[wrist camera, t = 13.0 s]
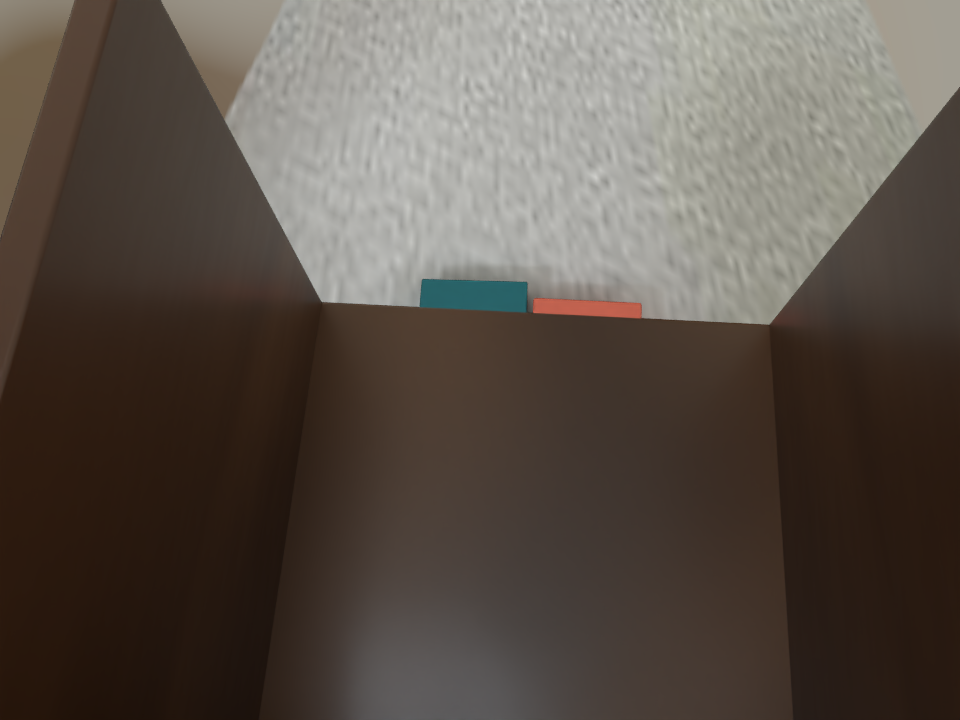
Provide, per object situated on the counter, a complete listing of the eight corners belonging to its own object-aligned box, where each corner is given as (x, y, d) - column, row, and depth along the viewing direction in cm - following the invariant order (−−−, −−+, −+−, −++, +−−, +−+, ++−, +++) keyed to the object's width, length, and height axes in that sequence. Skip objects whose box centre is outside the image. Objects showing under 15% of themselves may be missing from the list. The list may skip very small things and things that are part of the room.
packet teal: (421, 278, 33) (424, 290, 34) (410, 417, 31) (413, 425, 32) (527, 281, 33) (527, 293, 34) (522, 421, 31) (522, 429, 32)
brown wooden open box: (230, 814, 16) (-278, 1113, 6) (309, 313, 20) (90, -60, 9) (814, 865, 15) (1448, 1307, 5) (780, 337, 19) (1100, -33, 9)
